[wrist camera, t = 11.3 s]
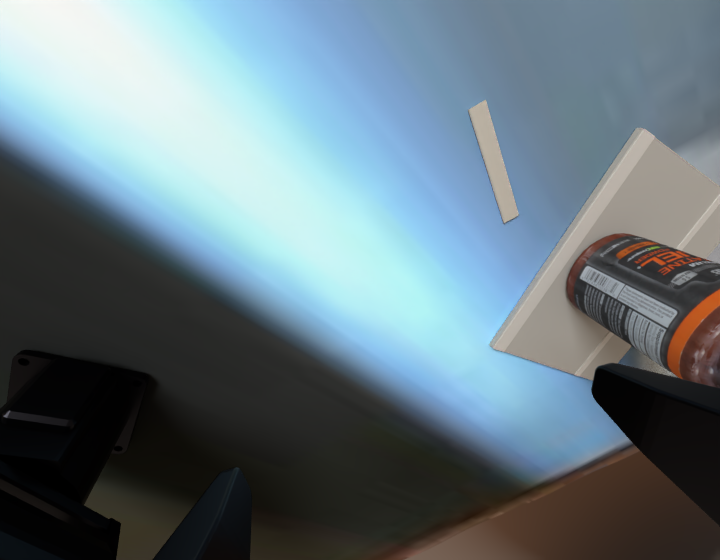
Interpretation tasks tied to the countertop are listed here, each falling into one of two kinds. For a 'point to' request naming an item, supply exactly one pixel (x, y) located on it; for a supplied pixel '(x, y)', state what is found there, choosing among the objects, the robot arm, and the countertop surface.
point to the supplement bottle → (653, 302)
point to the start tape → (493, 160)
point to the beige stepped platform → (595, 221)
